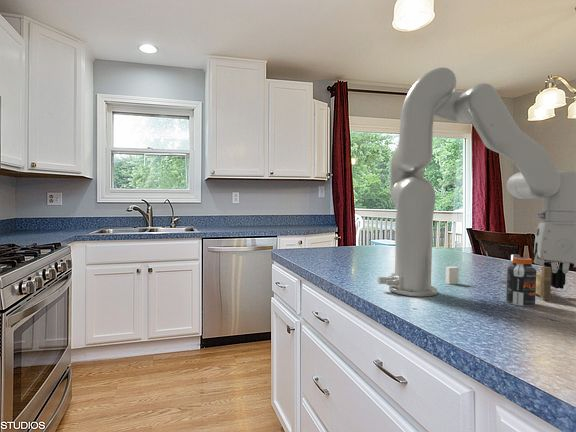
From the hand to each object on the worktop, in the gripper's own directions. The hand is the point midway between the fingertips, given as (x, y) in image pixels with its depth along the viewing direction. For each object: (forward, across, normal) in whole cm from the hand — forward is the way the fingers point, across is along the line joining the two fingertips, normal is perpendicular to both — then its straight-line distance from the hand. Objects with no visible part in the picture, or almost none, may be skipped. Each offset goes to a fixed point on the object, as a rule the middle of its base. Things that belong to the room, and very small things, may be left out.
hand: (556, 287), depth 93 cm
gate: (+2, -5, +3) cm, 6 cm away
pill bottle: (+3, -12, -10) cm, 16 cm away
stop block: (+3, -24, +9) cm, 26 cm away
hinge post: (+3, -5, +14) cm, 15 cm away
